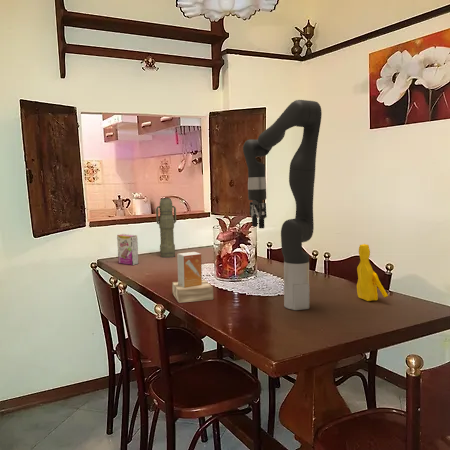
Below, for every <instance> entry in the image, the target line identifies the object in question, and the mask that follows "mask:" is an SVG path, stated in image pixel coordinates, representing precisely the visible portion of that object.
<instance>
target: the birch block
mask: <svg viewBox="0 0 450 450" xmlns="http://www.w3.org/2000/svg"><path fill="white" fill-rule="evenodd" d="M171 284H172V285H171V286H172V287H171V288H172V290H171V291H172V295H173V296H174V298H175V299H176V301H177V302H178V303H179V304H181V303H189V302H191V303H192V302H200V301H201V302H202V301H212V300H214V286H213V285H211V284H210V283H209V282H208V281H207V280H206V279H205V278H204V279H203V278H202V285H198V286H191V287H182V286H180V285H178V281H172V282H171Z"/></svg>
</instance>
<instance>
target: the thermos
mask: <svg viewBox="0 0 450 450" xmlns="http://www.w3.org/2000/svg"><path fill="white" fill-rule="evenodd" d="M155 214H156V215H155V216H156V217H155V218H156V224H157V225H159V227H158V228H159V230H160V231H159V232H160V245H159V253H160V258H163V259H164V258H165V259H167V258H174V257H176V244H175V238H174V236H175V235H174V234H175V232H174V228H175V224H176V223H177V208H176V206H175V205H173V201H172V198H169V197H162V198H160V200H159V204H158V206H156V208H155Z"/></svg>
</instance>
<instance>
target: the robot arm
mask: <svg viewBox="0 0 450 450" xmlns="http://www.w3.org/2000/svg"><path fill="white" fill-rule="evenodd" d="M322 113H323V112H322V108H321V105H320V103H319V102H318V101H316V100H315V101H314V100H306V99H295V100H293V101H292V102H291V103H290V104H289V105H288V106H287V107H286V108H285V109H284V110H283V112H282V113H281V114H280V115H279V116H278V118H277V119H276V120H275V121H274V122H273V123H272V124H271V125H270V126H269V127H268V128H266V129H265V130H264V131H262V132H261V133H260V134H259V136H258V138H257V139H247V140H245V142H244V144H243V146H242V152H243V156H244V159H245V162H246V166H247V176H248V177H247V178H248V180H247V199H248V200H249V201H250V202H249V216H250V218H251V226H252V227H253V228H255V227H258V229H265V219H266V218H267V203H266V202H263V201H264V200H267V181H266V167H265V163H263V162H260V161H258V160H257V158H262V157H263V158H264V157H266V156H268V154H269V153H270V152H271V150H272V148H273V147H275V146H276V145H278V144H279V143H281V141H282V140H283V139H284V137H285V135H286V131H287V130H290V129H291V128H294V127H298V128H299V127H300V128H303V132H302V139H301V141H300V142H301V143H300V144H299V147H298V148H297V150H296V152H295V153H294V155H293V157H292V159H291V161H290V164H289V173H288V182H289V188H290V191H291V193H292V195H293V198H294V201H295V217H294V218H290V219H286V220H285V221H284V222H283V223H282V225H281V228H280V243H281V245H280V246H281V253H282V256H283V302H284V303H283V304H284V305H283V306H284V308H285V309H289V310H292V311H301V310H309V309H310V255H309V253H307V252H306V251H304V250H303V244H302V243H306V242H309V241H310V240H311V238H312V237H313V234H314V225H315V224H314V195H315V194H314V193H315V190H314V189H315V179H316V162H317V149H318V142H319V141H318V140H319V136H320V134H319V133H320V129H321V124H322Z"/></svg>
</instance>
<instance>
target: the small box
mask: <svg viewBox="0 0 450 450" xmlns="http://www.w3.org/2000/svg"><path fill="white" fill-rule="evenodd" d="M176 256H177V259H176V260H177V261H176V262H177V282H178V285H180V286H182V287H191V286H198V285H202V280H203V277H202V271H203V270H202V269H203V268H202V253H199V252H196V251H190V252H188V251H187V252H182V253H177V254H176Z"/></svg>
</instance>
